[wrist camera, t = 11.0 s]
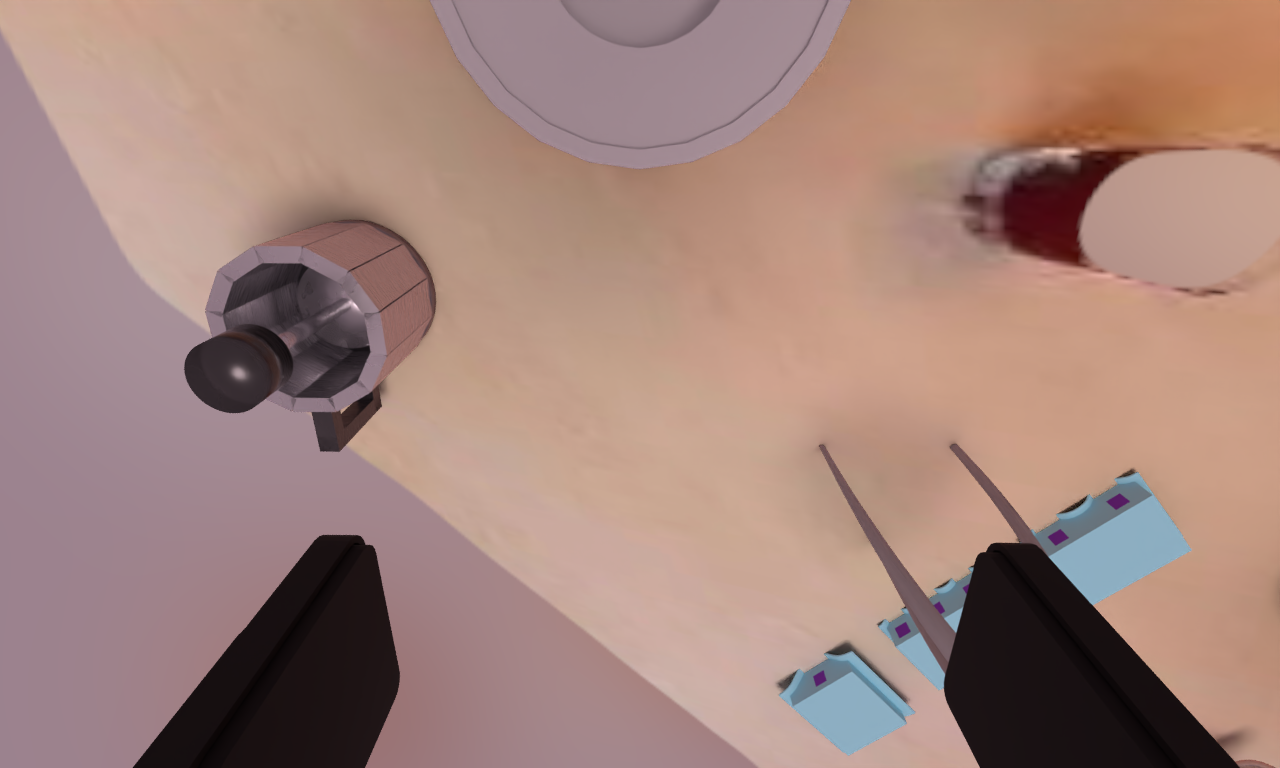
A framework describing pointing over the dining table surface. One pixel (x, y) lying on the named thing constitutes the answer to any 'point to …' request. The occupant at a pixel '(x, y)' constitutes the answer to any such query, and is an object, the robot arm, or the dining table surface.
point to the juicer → (913, 597)
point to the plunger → (271, 348)
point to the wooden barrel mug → (322, 372)
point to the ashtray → (640, 69)
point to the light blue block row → (1077, 544)
